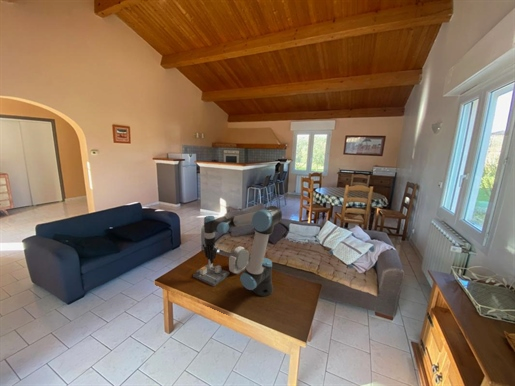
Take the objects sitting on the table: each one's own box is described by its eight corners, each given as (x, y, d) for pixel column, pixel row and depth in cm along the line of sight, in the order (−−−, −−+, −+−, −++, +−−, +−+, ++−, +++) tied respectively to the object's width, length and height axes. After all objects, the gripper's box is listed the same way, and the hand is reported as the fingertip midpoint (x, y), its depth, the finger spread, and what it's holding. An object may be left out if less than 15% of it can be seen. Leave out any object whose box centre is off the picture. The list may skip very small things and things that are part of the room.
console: (229, 274, 171) (229, 270, 171) (214, 286, 156) (214, 282, 156) (209, 266, 182) (209, 262, 181) (193, 276, 167) (193, 272, 166)
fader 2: (221, 271, 171) (221, 266, 170) (217, 273, 168) (217, 268, 167) (218, 270, 173) (218, 264, 172) (214, 272, 170) (214, 267, 169)
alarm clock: (241, 264, 187) (242, 242, 183) (249, 267, 183) (250, 245, 178) (227, 273, 173) (227, 250, 169) (235, 277, 168) (236, 253, 164)
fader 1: (206, 272, 169) (206, 267, 168) (203, 275, 165) (203, 269, 164) (204, 271, 170) (203, 266, 169) (200, 273, 167) (200, 268, 166)
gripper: (220, 237, 158) (220, 267, 162) (206, 233, 164) (207, 262, 169) (213, 240, 151) (213, 271, 156) (199, 236, 158) (200, 266, 162)
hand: (210, 266), depth 162 cm, fingers closed
